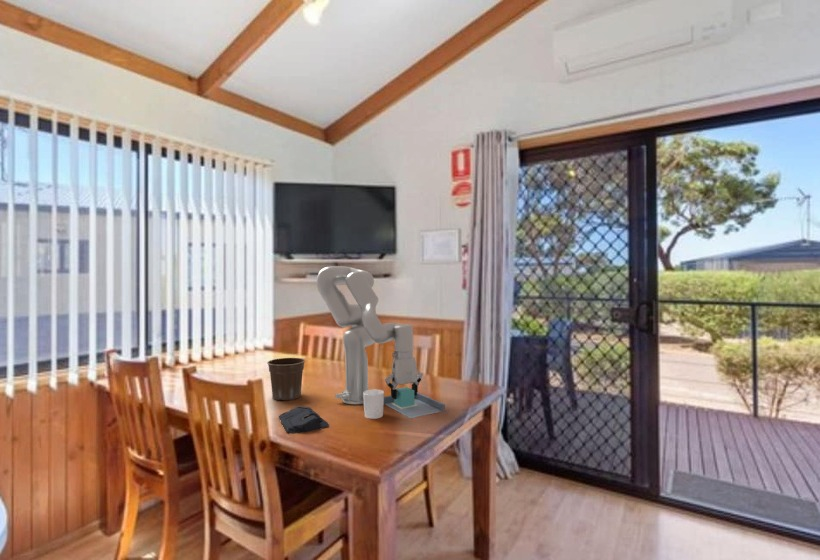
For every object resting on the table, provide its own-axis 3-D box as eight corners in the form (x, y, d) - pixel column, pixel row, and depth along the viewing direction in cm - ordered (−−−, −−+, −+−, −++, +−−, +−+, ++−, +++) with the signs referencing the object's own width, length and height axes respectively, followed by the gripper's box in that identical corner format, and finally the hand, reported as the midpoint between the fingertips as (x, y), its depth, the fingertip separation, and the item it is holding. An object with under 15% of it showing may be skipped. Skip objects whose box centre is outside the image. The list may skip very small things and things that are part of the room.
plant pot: (293, 389, 210) (292, 355, 210) (313, 396, 199) (312, 360, 199) (261, 397, 198) (260, 361, 198) (280, 404, 187) (279, 366, 187)
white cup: (373, 413, 175) (373, 388, 175) (388, 417, 170) (388, 391, 170) (359, 418, 169) (358, 392, 169) (374, 423, 164) (373, 396, 164)
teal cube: (401, 407, 178) (401, 392, 178) (394, 403, 184) (394, 389, 183) (414, 404, 182) (414, 390, 181) (406, 401, 187) (406, 386, 186)
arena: (410, 420, 166) (409, 411, 166) (382, 405, 185) (382, 397, 185) (444, 413, 175) (444, 404, 175) (415, 399, 194) (415, 391, 193)
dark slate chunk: (315, 411, 180) (314, 399, 180) (330, 429, 160) (330, 416, 160) (276, 417, 173) (275, 405, 173) (287, 437, 153) (287, 423, 153)
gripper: (389, 359, 174) (390, 402, 175) (426, 354, 183) (427, 395, 184) (380, 355, 181) (381, 397, 181) (417, 351, 190) (417, 391, 190)
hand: (404, 396), depth 182 cm, fingers open, 9 cm apart
